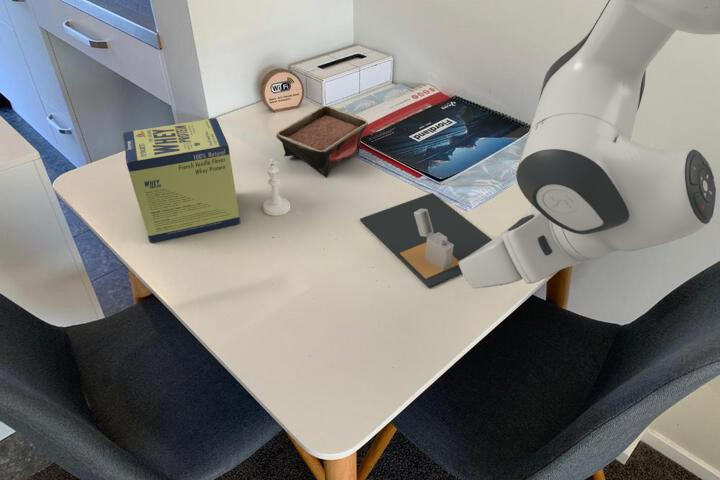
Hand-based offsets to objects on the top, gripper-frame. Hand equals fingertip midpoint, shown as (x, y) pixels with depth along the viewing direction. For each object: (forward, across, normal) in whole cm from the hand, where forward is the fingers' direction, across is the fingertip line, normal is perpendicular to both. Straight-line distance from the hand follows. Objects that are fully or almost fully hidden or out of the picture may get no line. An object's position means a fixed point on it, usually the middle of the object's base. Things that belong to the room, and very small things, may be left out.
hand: (485, 250), depth 73 cm
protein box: (+38, +23, -26) cm, 51 cm away
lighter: (+12, 0, -1) cm, 12 cm away
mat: (+16, -5, -4) cm, 17 cm away
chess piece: (+33, +10, -21) cm, 40 cm away
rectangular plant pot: (+39, -8, -27) cm, 48 cm away
